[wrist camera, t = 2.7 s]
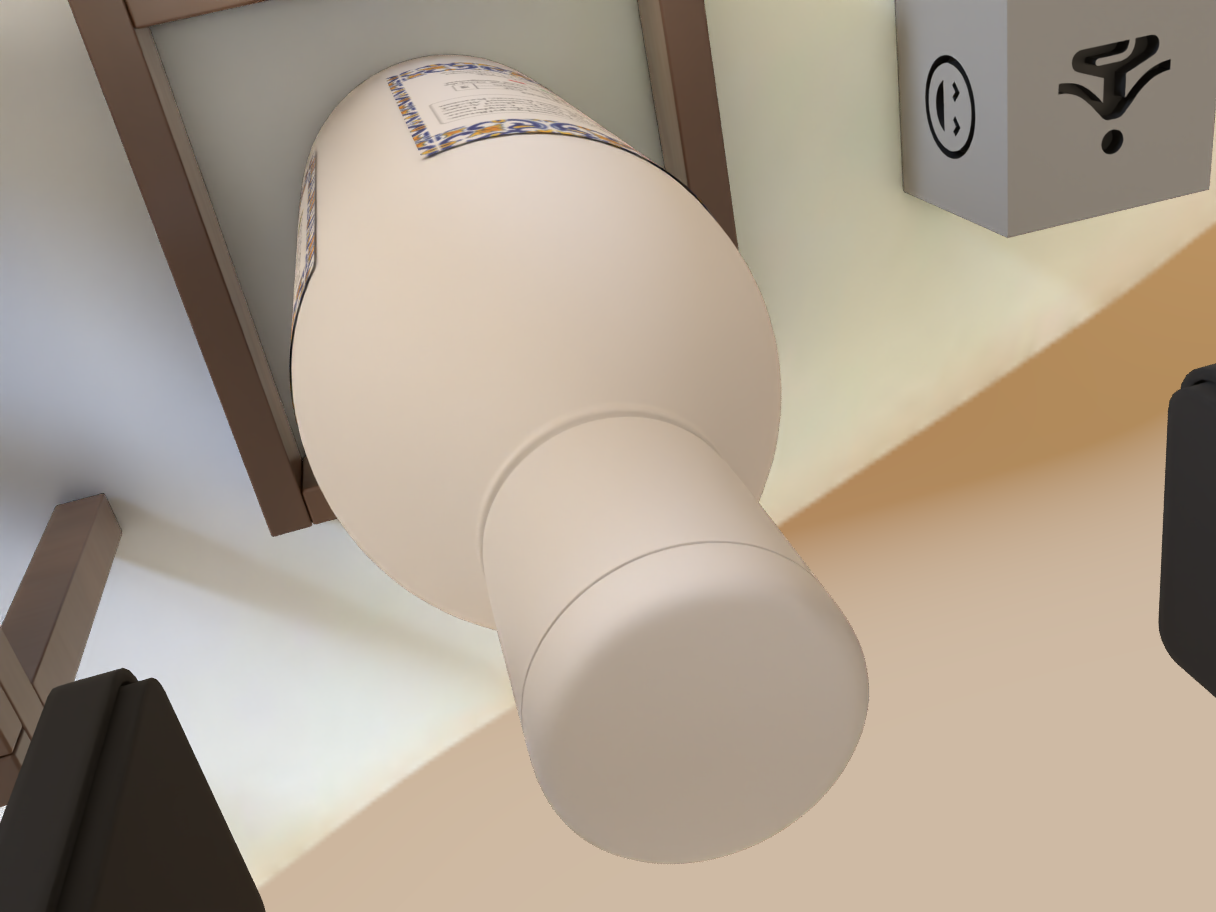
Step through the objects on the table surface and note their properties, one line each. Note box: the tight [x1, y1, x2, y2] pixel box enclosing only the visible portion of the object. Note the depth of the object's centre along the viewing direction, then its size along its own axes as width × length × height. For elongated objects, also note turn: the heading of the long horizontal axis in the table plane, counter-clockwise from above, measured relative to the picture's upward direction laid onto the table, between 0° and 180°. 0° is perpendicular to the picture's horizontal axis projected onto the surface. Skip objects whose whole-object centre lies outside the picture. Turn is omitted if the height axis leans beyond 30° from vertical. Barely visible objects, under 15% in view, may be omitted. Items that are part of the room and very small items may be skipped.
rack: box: [0, 0, 739, 807], centre depth 22 cm, size 28×12×10 cm, turn 102°
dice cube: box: [895, 0, 1216, 238], centre depth 26 cm, size 5×5×5 cm
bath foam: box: [289, 55, 869, 864], centre depth 18 cm, size 7×7×20 cm
